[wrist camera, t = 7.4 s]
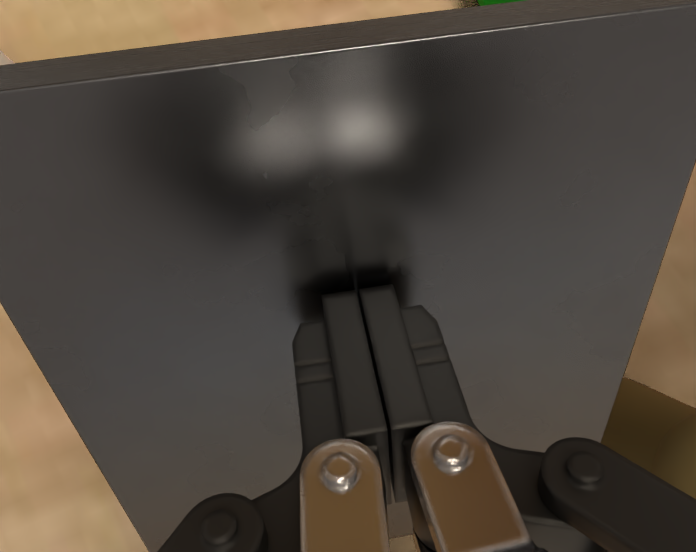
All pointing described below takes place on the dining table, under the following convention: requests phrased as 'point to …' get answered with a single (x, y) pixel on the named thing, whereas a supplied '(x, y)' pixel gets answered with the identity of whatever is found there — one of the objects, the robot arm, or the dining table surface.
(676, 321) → the dining table surface
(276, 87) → the dark gray flat panel
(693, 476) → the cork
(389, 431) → the robot arm
